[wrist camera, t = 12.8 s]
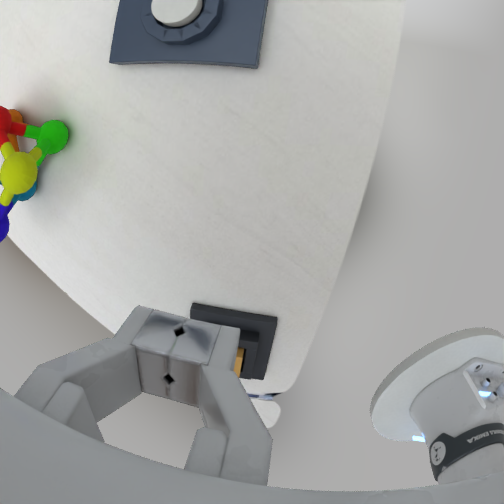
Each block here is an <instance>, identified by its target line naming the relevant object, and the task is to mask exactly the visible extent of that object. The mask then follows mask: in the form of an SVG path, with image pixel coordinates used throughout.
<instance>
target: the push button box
mask: <svg viewBox="0 0 504 504" xmlns="http://www.w3.org/2000/svg"><path fill="white" fill-rule="evenodd" d="M152 1H153V0H120V2H119V7H118V12H117V17H116V22H115V28H114V34H113V40H112V46H111V53H110V60H109V63H113V64H118V65H124V64H149V63H182V64H208V65H223V66H235V67H246V68H255V69H257V68H258V62H259V56H260V49H261V43H262V36H263V30H264V23H265V17H266V11H267V4H268V0H202V9H201V11H200V13H199V15H198V16H197V17H196V18H195V19H194V20H193V21H192V22H190V23H188V24H186V25H183V26H179V27H171V26H167V25H165V24H164V23H162V22H160V21H159V20H157V19H156V18H155V17H154V15H153V14H152V10H151V4H152Z"/></svg>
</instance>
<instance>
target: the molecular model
mask: <svg viewBox="0 0 504 504" xmlns="http://www.w3.org/2000/svg"><path fill="white" fill-rule="evenodd" d="M17 135H18V136H23V137H28V138H32V139H37V145H36V146H35V147H34V148H33V149H32V150H31V151H30V152H29V153H26V152H20V151H19V147H18V142H17V137H16V136H17ZM68 136H69V135H68V129H67V127H66V126H65V125H64V123H62V122H60V121H58V120H50V121H48V122H46V123H44V124H43V125H42V126H41V127H37V126H33V125H29V124H26V123H23V117H22V115H21V114H20V112H18V111H16V110H15V109H10V110H8V109H6V108H4V107H2V106H0V151H1V153H2V155H3V157H4V159H5V161H4V162H3V165H2V167H1V170H0V184H1V185H3V187H4V190H3V192H2V194H1V196H0V242H1V241H2V240H3V239H4V238H5V237H6V236H7V233H8V231H9V219H8V216H7V215H8V213H9V212H10V210H11V209H12V207H13V206H14V205H15V203H16V202H17V201H18V200H19V201H25V200H28V199H29V198H31V197H32V196H33V195H34V193H35V191H36V187H37V182H36V178H37V173H38V168H39V166H40V165H41V163H42V161H43V160H44V158H45V157H46V155H47V154H54V153H58V152H59V151H60V150H62V149H63V148H64V146H65V145H66V143H67V140H68Z"/></svg>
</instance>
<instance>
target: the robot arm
mask: <svg viewBox="0 0 504 504" xmlns="http://www.w3.org/2000/svg"><path fill="white" fill-rule="evenodd" d="M239 337H240V328H234V327H229V326H223V325H222V326H221V325H217V324H212V323H207V322H203V321H198V320H193V319H189V318H185V317H181V316H178V315H174V314H170V313H167V312H163V311H159V310H156V309H155V310H154V309H151V308H147V307H144V306H140V305H139V306H137V307H135V308H134V310H133V311H132V312H131V314H130V315H129V316H128V318H127V319H126V321H125V322H124V323H123V325H122V326H121V327H120V329H119V330H118V332H117V333H116V334H115V336H114V337H113V338H112V339H110V338H106V339H103V340H101V341H98V342H96V343H93V344H91V345H88V346H86V347H83V348H81V349H79V350H76V351H74V352H71V353H68V354H66V355H64V356H61V357H58V358H56V359H53V360H51V361H48V362H46V363H43V364H41V365H39V366H37V368H36V369H35V370H34V371H33V373H32V374H31V375H30V376H29V378H28V379H27V380H26V381H25V383H24V384H23V385H22V386H21V388H20V389H19V390H18V392H17V393H16V394H15V395H14V396H12V395H10V394H9V393H7V392H6V391H4V390H3V389H1V388H0V504H504V364H501V363H497V362H494V361H490V360H486V359H482V358H478V357H474V358H472V359H470V360H469V361H467V362H466V363H465V364H463V365H462V366H461V367H460V368H458V369H456V370H455V371H452V372H450V373H448V374H446V375H444V376H442V377H440V378H439V379H437V380H435V381H434V382H433V383H431V384H430V385H428V386H427V387H426V388H425V389H424V390H423V391H422V392H421V393H420V394H419V395H418V396H417V397H416V398H415V400H414V401H413V403H412V405H411V407H410V416H411V418H412V419H413V420H414V422H415V423H416V425H417V426H418V428H419V430H420V432H421V434H422V436H423V437H417V436H413V440H417V441H424V442H426V444H427V447H428V449H429V453H430V463H431V467H432V471H433V475H434V478H435V480H436V481H438V483H439V485H433V486H426V487H418V488H409V489H398V490H384V491H356V492H355V491H346V492H345V491H314V490H300V489H289V488H279V487H271V486H267V482H268V473H269V465H270V458H271V450H272V441H273V439H272V437H271V435H270V434H269V432H268V430H267V428H266V427H265V425H264V423H263V421H262V420H261V418H260V416H259V414H258V413H257V411H256V409H255V407H254V405H253V404H252V402H251V400H250V398H249V396H248V395H247V393H246V391H245V389H244V387H243V385H242V384H241V382H240V380H239V378H238V376H237V374H236V372H234V366H235V361H236V355H237V349H238V343H239ZM141 392H145V393H148V394H152V395H155V396H159V397H163V398H167V399H171V400H174V401H177V402H180V403H184V404H188V405H191V406H194V407H198V408H199V411H200V413H201V416H202V419H203V422H204V425H205V427H203V428H201V429H198V430H197V432H196V435H195V438H194V441H193V444H192V447H191V450H190V453H189V456H188V459H187V462H186V465H185V468H184V469H180V468H177V467H173V466H170V465H166V464H163V463H160V462H156V461H153V460H150V459H147V458H144V457H141V456H138V455H135V454H133V453H130V452H127V451H124V450H122V449H119V448H117V447H114V446H111V445H109V444H106V443H104V439H103V437H102V434H101V432H100V430H99V427H98V425H97V422H98V421H100V420H102V419H103V418H105V417H106V416H108V415H109V414H111V413H112V412H114V411H116V410H117V409H119V408H120V407H122V406H123V405H125V404H126V403H127V402H129V401H131V400H132V399H133V398H135V397H137V396H138V395H140V394H141Z"/></svg>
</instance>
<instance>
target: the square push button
mask: <svg viewBox="0 0 504 504" xmlns="http://www.w3.org/2000/svg"><path fill="white" fill-rule="evenodd" d="M190 319H193V320H198V321H203V322H207V323H212V324H217V325H221V326H222V325H223V326H229V327H234V328H240V337H239V343H238V347H239V348H244V353H243V359H242V364H241V370H240V376H239V378H244V379H251V378H252V379H259V380H263V379H264V376H265V372H266V368H267V364H268V359H269V355H270V351H271V347H272V343H273V339H274V335H275V330H276V326H277V317H270V316H264V315H258V314H252V313H246V312H240V311H234V310H228V309H223V308H217V307H212V306H206V305H201V304H196V303H193V304H192V307H191V312H190Z"/></svg>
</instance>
